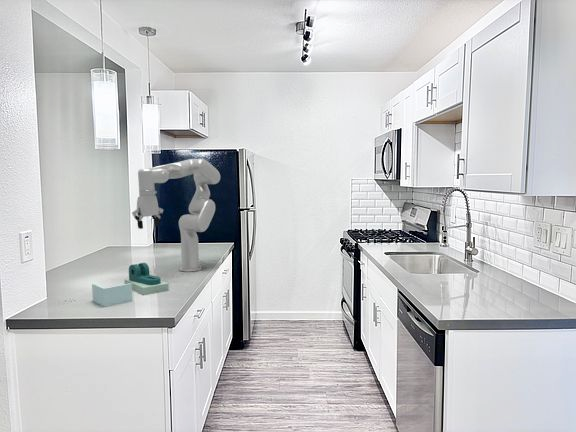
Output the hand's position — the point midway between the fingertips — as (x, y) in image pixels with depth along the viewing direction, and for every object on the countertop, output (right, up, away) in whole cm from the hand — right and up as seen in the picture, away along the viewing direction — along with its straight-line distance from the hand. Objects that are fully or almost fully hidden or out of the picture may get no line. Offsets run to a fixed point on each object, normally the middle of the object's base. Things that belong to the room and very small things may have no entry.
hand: (149, 227), depth 219 cm
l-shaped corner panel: (-5, -31, -34) cm, 46 cm away
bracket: (+3, -26, -14) cm, 29 cm away
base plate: (+3, -30, -13) cm, 32 cm away
